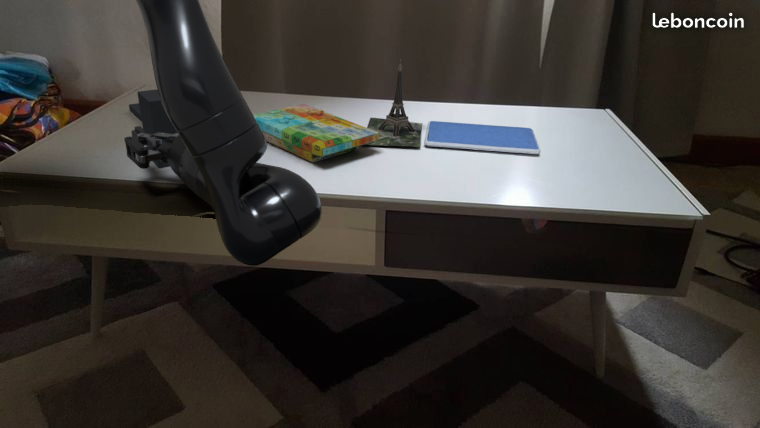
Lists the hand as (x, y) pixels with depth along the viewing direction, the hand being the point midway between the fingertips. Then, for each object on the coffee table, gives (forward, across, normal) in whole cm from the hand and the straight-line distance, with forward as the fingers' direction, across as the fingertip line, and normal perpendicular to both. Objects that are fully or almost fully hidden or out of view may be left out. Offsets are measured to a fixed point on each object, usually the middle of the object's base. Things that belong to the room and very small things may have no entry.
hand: (168, 128), depth 82 cm
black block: (+4, 0, +6) cm, 7 cm away
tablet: (-14, -49, +6) cm, 52 cm away
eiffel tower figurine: (-4, -38, +6) cm, 39 cm away
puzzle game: (-2, -22, +6) cm, 23 cm away
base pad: (+26, -9, +6) cm, 28 cm away
